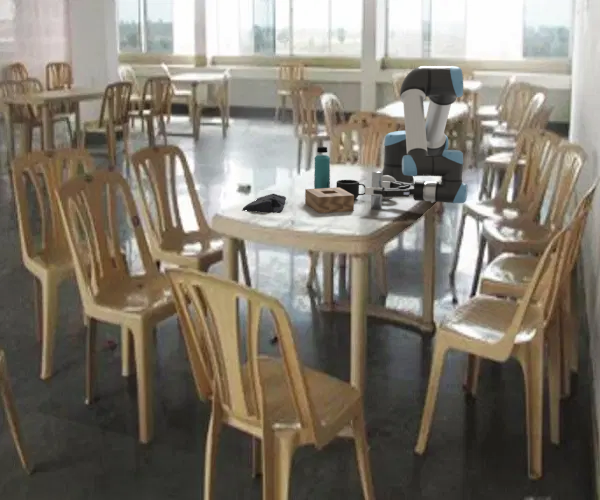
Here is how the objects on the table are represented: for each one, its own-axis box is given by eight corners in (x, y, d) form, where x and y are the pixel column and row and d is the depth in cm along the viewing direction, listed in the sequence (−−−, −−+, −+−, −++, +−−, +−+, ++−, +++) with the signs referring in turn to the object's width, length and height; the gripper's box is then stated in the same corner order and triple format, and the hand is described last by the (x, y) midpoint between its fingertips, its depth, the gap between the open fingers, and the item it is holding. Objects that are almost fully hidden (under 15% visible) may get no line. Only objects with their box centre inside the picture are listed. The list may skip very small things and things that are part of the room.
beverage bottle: (328, 197, 341) (329, 148, 336) (312, 196, 342) (312, 147, 337) (331, 194, 347) (332, 145, 342) (315, 193, 348) (315, 145, 343)
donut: (372, 199, 337) (373, 174, 335) (375, 197, 341) (376, 173, 338) (396, 201, 334) (397, 176, 331) (399, 200, 337) (400, 175, 334)
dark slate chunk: (292, 202, 332) (292, 190, 331) (280, 214, 312) (280, 202, 310) (254, 200, 335) (254, 189, 334) (240, 212, 314) (240, 200, 313)
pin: (379, 206, 324) (380, 171, 320) (383, 209, 320) (384, 172, 316) (369, 207, 323) (370, 171, 319) (373, 209, 319) (374, 173, 315)
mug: (334, 200, 335) (334, 183, 333) (338, 196, 343) (338, 179, 341) (364, 202, 333) (365, 184, 331) (367, 197, 341) (367, 180, 339)
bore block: (339, 202, 331) (339, 187, 330) (353, 210, 317) (354, 195, 315) (305, 204, 327) (305, 189, 326) (318, 213, 312) (318, 197, 311)
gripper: (419, 207, 303) (361, 203, 310) (429, 194, 327) (376, 191, 333) (419, 187, 302) (362, 183, 308) (430, 175, 325) (376, 172, 331)
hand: (369, 187), depth 320 cm, fingers open, 13 cm apart
